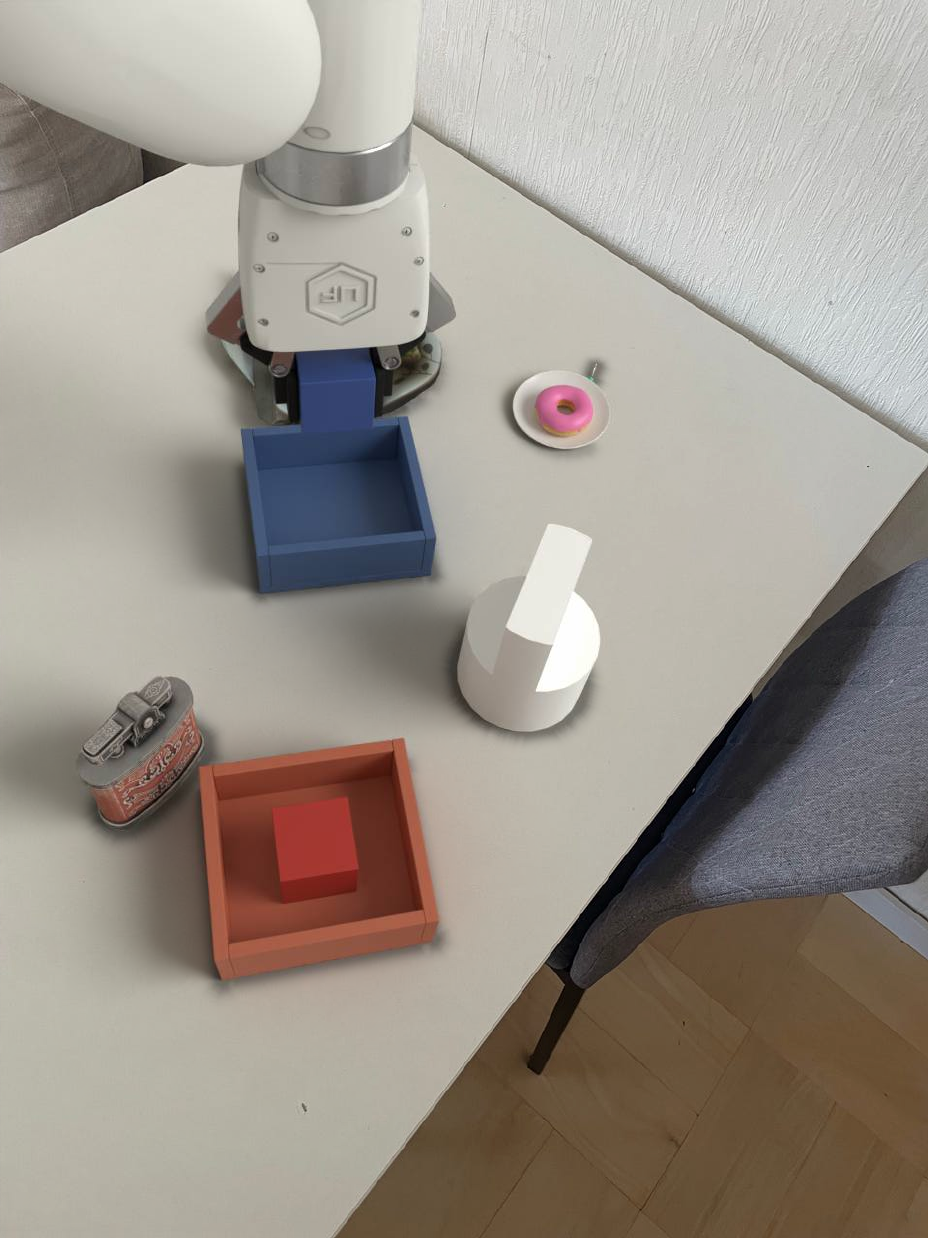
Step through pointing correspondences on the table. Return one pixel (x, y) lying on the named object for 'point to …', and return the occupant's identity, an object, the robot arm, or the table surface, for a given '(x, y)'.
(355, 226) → the robot arm
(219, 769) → the terracotta bin
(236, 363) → the salad plate
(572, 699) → the cylinder with rectangular tab
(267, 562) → the blue bin
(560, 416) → the donut
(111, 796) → the lighter
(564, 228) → the table surface
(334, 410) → the blue block
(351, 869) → the red block
